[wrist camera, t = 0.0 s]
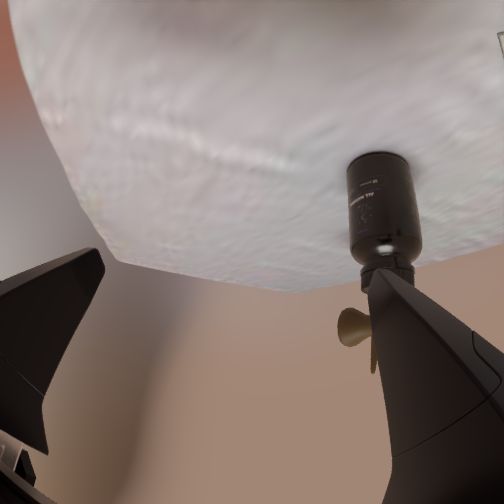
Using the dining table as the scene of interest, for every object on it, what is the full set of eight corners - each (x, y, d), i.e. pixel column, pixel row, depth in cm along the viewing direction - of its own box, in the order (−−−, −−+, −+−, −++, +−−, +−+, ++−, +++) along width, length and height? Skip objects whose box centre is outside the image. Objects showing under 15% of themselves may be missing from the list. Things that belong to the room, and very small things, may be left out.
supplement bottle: (349, 147, 23) (358, 279, 19) (417, 154, 21) (440, 281, 17) (342, 188, 29) (344, 297, 25) (399, 192, 28) (410, 298, 24)
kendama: (410, 225, 34) (415, 372, 28) (359, 242, 42) (356, 371, 36) (390, 209, 31) (394, 377, 25) (335, 230, 39) (329, 373, 33)
